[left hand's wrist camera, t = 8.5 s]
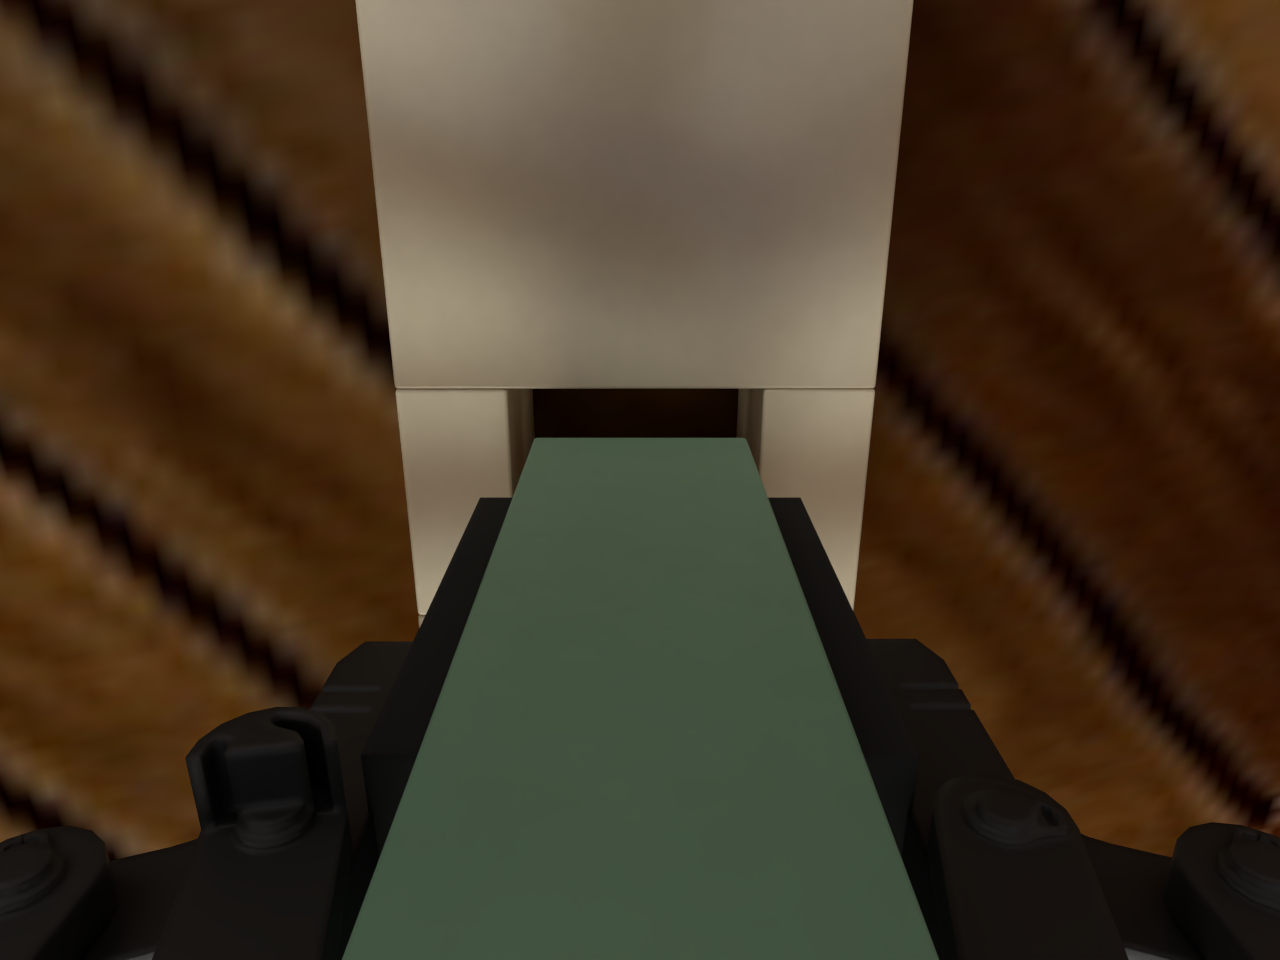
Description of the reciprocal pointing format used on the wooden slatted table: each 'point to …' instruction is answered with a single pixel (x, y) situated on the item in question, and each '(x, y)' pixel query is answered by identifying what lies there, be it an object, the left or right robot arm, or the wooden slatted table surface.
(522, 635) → the peg
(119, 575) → the wooden slatted table surface
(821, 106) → the peg board
